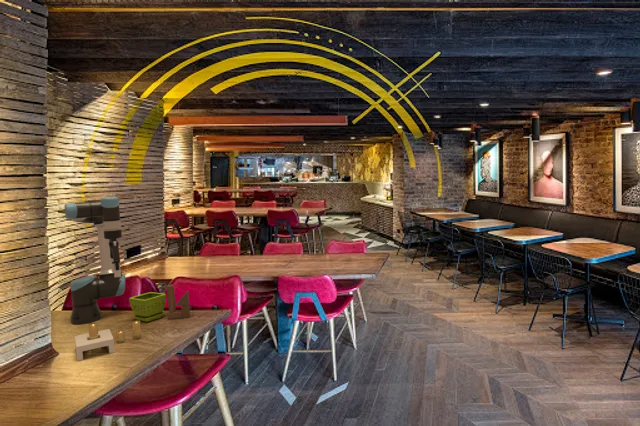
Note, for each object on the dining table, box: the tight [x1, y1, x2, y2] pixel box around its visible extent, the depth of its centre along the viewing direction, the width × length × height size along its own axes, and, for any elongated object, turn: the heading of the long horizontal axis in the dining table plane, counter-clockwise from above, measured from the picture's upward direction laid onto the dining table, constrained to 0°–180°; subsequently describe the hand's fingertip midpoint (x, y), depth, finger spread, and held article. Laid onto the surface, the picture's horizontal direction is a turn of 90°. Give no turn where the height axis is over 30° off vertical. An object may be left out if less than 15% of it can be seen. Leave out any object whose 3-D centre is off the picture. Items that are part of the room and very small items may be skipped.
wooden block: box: [166, 284, 191, 320], centre depth 226 cm, size 4×11×18 cm, turn 95°
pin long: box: [87, 322, 101, 353], centre depth 185 cm, size 4×4×12 cm
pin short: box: [115, 329, 126, 344], centre depth 194 cm, size 4×4×5 cm
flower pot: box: [128, 291, 167, 323], centre depth 227 cm, size 14×14×13 cm
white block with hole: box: [74, 328, 116, 362], centre depth 185 cm, size 16×14×6 cm
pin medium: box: [131, 319, 142, 340], centre depth 198 cm, size 4×4×8 cm
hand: (116, 274), depth 199 cm, fingers open, 13 cm apart
